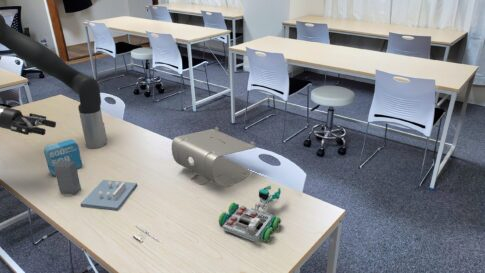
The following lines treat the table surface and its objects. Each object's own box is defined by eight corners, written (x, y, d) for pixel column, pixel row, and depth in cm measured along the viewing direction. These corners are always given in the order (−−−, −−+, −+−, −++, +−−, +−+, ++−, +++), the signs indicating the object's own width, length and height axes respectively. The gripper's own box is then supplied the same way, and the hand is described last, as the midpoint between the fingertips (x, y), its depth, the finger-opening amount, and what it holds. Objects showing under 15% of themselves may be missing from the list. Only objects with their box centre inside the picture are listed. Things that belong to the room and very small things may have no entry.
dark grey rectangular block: (66, 187, 143) (60, 160, 138) (81, 189, 142) (75, 161, 137) (60, 193, 139) (53, 165, 134) (75, 195, 139) (68, 167, 133)
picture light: (162, 243, 116) (161, 238, 115) (151, 251, 113) (150, 245, 112) (135, 224, 124) (134, 219, 123) (123, 231, 121) (122, 226, 120)
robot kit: (295, 207, 132) (296, 185, 128) (264, 251, 113) (265, 226, 109) (248, 193, 140) (249, 171, 136) (212, 231, 121) (211, 207, 117)
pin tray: (103, 182, 146) (102, 174, 145) (137, 185, 144) (136, 177, 143) (81, 206, 132) (79, 197, 131) (117, 210, 130) (116, 201, 128)
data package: (53, 177, 150) (46, 151, 145) (49, 173, 153) (42, 147, 148) (82, 167, 157) (77, 141, 152) (78, 163, 160) (73, 138, 155)
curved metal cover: (172, 172, 153) (169, 138, 147) (214, 152, 169) (213, 121, 162) (215, 196, 138) (213, 160, 131) (256, 172, 153) (257, 138, 147)
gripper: (-8, 112, 125) (42, 124, 127) (15, 102, 139) (59, 113, 141) (-9, 133, 127) (40, 144, 130) (13, 121, 141) (57, 131, 143)
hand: (50, 128), depth 135 cm, fingers open, 8 cm apart
